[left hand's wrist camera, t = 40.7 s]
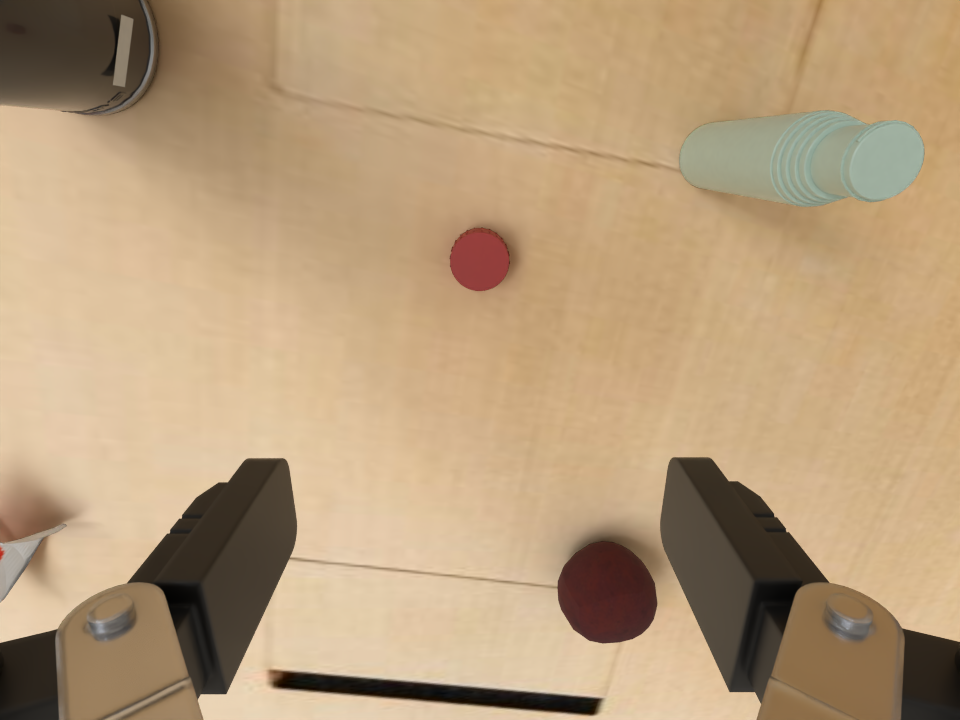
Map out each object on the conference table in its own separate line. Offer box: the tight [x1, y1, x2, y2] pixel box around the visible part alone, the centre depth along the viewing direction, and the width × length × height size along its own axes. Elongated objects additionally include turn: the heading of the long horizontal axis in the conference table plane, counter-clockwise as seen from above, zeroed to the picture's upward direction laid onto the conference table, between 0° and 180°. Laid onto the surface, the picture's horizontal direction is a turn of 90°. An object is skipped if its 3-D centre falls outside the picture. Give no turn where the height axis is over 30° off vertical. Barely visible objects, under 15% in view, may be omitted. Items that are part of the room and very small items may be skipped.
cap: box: [450, 228, 510, 291], centre depth 37 cm, size 4×4×2 cm
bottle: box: [679, 110, 924, 207], centre depth 28 cm, size 4×4×17 cm
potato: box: [558, 541, 657, 643], centre depth 44 cm, size 7×8×7 cm
